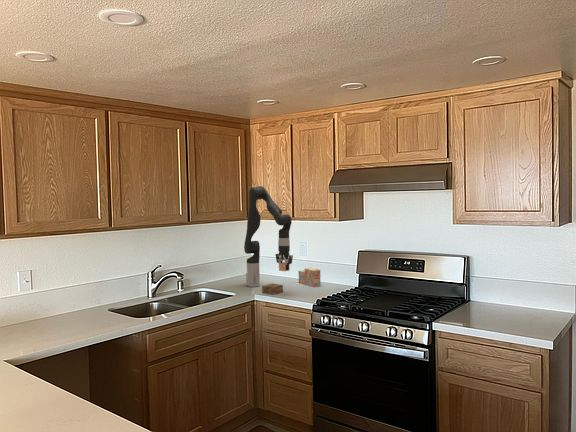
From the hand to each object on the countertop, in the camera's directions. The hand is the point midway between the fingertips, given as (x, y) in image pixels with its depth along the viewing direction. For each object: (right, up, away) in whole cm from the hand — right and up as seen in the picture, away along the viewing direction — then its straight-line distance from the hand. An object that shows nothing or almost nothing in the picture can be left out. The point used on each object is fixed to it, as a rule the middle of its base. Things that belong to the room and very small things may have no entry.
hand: (284, 269), depth 326 cm
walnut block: (-8, -16, +6) cm, 19 cm away
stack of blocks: (+18, -15, +34) cm, 41 cm away
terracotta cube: (0, 0, 0) cm, 0 cm away
